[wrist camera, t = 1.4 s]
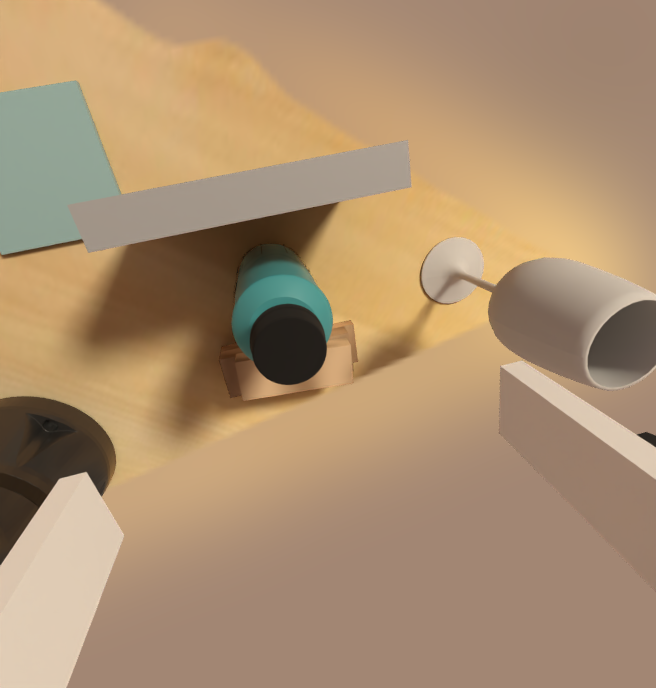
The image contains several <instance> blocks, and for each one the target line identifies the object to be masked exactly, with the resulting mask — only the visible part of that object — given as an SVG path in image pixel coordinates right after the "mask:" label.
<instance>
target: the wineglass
mask: <svg viewBox="0 0 656 688" xmlns="http://www.w3.org/2000/svg"><path fill="white" fill-rule="evenodd" d="M483 269H484V261H483V255H482V253H481V250H480V249H479V247H478V246H477V245H476V244H475V243H474V242H472V241H471V240H469V239H466V238H462V237H453V238H448V239H446V240H444V241H442V242H440V243H438V244H437V245H436V246H435V247H433V248H432V250H431V251H430V252H429V253H428V254H427V256H426V258H425V260H424V262H423V266H422V270H421V281H422V286H423V288H424V290H425V292H426V293H427V294H428V295H429V297H430V298H432V299H434V300H435V301H437V302H441V303H454V302H458V301H460V300H462V299H464V298H466V297H467V296H468V295H470V294H471V293H472V292H473V291H474V289H475V288H476V287H477V286H479V287H481V288H483V289H485V290H488V291H490V292H492V295H491V298H490V301H489V308H488V315H489V322H490V324H491V326H492V329H493V331H494V333H495V335H496V337H497V338H498V339H499V340H500V342H501V343H502V344H503V345H504V346H506V347H507V348H508V349H509V350H511V351H512V352H514V353H515V354H517V355H518V356H520V357H522V358H523V359H525V360H527V361H529V362H531V363H533V364H535V365H537V366H540V367H542V368H544V369H546V370H549V371H551V372H553V373H556V374H558V375H560V376H563V377H566V378H569V379H571V380H574V381H576V382H579V383H582V384H585V385H588V386H591V387H595V388H598V389H602V390H607V391H614V390H620V389H624V388H627V387H630V386H632V385H634V384H636V383H638V382H640V381H641V380H642V379H644V378H645V377H647V376H648V375H649V374H650V373H651V372H652V371H653V370H654V369H656V294H654V293H652V292H650V291H648V290H646V289H644V288H642V287H640V286H638V285H636V284H634V283H632V282H630V281H628V280H625V279H623V278H621V277H618V276H616V275H613V274H611V273H608V272H606V271H603V270H600V269H598V268H595V267H592V266H590V265H587V264H584V263H581V262H578V261H574V260H569V259H562V258H540V259H536V260H532V261H528V262H525V263H522V264H520V265H518V266H516V267H514V268H513V269H512V270H510V271H509V272H508V273H507V274H505V276H504V277H503V278H502V279H501V280H500V281H499V282H498V284H497V285H495V284H492V283H490V282H487V281H485V280H482V279H481V277H482V274H483Z"/></svg>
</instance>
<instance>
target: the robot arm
mask: <svg viewBox="0 0 656 688" xmlns="http://www.w3.org/2000/svg"><path fill="white" fill-rule="evenodd" d="M500 369H501V370H500V408H499V410H500V411H499V434H500V435H501V436H502V437H503V438H504V439H505V440H506V441H507V442H508V443H509V444H510V445H511V446H512V447H513V448H514V449H515V450H516V451H517V452H518V453H519V454H520V455H521V456H522V457H523V458H524V459H525V460H526V461H527V462H528V463H529V464H530V465H531V466H532V467H533V468H534V469H535V470H536V471H537V472H538V473H539V474H540V475H541V476H542V477H543V478H544V479H545V480H546V481H547V482H548V483H549V484H550V485H551V486H552V487H553V488H554V489H555V490H556V491H557V492H558V493H559V494H560V495H561V496H562V497H563V499H564V500H565V501H566V502H567V503H568V504H570V505H571V507H573V508H574V510H575V511H576V512H577V513H578V514H579V515H580V516H581V517H582V518H583V519H584V520H585V521H586V522H587V523H588V524H589V525H590V526H591V527H592V528H593V529H594V530H595V531H596V532H597V533H598V534H599V535H600V536H601V537H602V538H603V539H604V540H605V541H606V542H607V543H608V544H609V545H610V546H611V547H612V548H613V549H614V550H615V551H616V552H617V553H618V554H619V555H620V556H621V557H622V558H623V559H624V560H625V561H626V562H627V563H628V564H629V565H630V566H631V567H632V568H633V569H634V570H635V571H636V572H637V573H638V574H639V575H640V576H641V577H642V578H643V579H644V580H645V581H646V582H647V583H648V584H649V585H650V586H651V588H652V589H654V591H655V592H656V436H655V435H653V434H650V433H647V432H645V433H641V434H637V435H636V434H634V433H633V432H631V431H629V430H628V429H626V428H625V427H623V426H622V425H620V424H619V423H617V422H616V421H614V420H613V419H611V418H610V417H608V416H607V415H605V414H603V413H602V412H600V411H599V410H597V409H596V408H594V407H593V406H591V405H590V404H588V403H586V402H585V401H583V400H582V399H580V398H579V397H577V396H576V395H574V394H573V393H571V392H569V391H568V390H567V389H565V388H563V387H562V386H560V385H559V384H557V383H556V382H554V381H552V380H551V379H550V378H548V377H547V376H545V375H543V374H542V373H540V372H539V371H537V370H536V369H534V368H533V367H531V366H530V365H528V364H526V363H525V362H523V361H519V362H515V363H511V364H507V365H503V366H501V368H500ZM115 466H116V455H115V450H114V447H113V444H112V442H111V440H110V438H109V436H108V435H107V433H106V432H105V431H104V430H103V428H102V427H101V426H100V425H99V424H98V423H97V422H96V421H95V420H93V419H92V418H91V417H89V416H88V415H86V414H85V413H83V412H82V411H80V410H78V409H76V408H74V407H72V406H70V405H67V404H64V403H61V402H58V401H55V400H51V399H46V398H40V397H10V398H4V399H0V688H66V687H67V685H68V682H69V679H70V677H71V674H72V672H73V669H74V666H75V663H76V661H77V658H78V656H79V653H80V651H81V648H82V645H83V643H84V640H85V637H86V634H87V632H88V629H89V627H90V624H91V622H92V619H93V616H94V614H95V611H96V609H97V606H98V603H99V601H100V598H101V595H102V593H103V590H104V588H105V585H106V582H107V580H108V577H109V575H110V572H111V569H112V567H113V564H114V561H115V558H116V556H117V554H118V551H119V548H120V546H121V543H122V540H123V538H124V534H123V532H122V531H121V529H120V528H119V526H118V524H117V522H116V521H115V519H114V518H113V516H112V514H111V512H110V511H109V509H108V507H107V506H106V504H105V502H104V501H103V499H102V495H103V494H104V492H105V490H106V488H107V486H108V484H109V482H110V480H111V478H112V476H113V474H114V471H115Z"/></svg>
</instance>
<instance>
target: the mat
mask: <svg viewBox="0 0 656 688" xmlns="http://www.w3.org/2000/svg"><path fill="white" fill-rule="evenodd" d="M117 195H121V192H120V189H119V187H118V184H117V182H116V179H115V176H114V174H113V171H112V169H111V166H110V163H109V161H108V158H107V156H106V153H105V150H104V148H103V145H102V143H101V140H100V137H99V135H98V132H97V129H96V127H95V124H94V122H93V119H92V116H91V114H90V111H89V109H88V106H87V103H86V101H85V98H84V96H83V93H82V90H81V88H80V85H79V83H78V82H77V81H70V82H64V83H57V84H51V85H45V86H39V87H32V88H26V89H20V90H14V91H7V92H1V93H0V253H1V254H2V255H4V254H9V253H14V252H19V251H24V250H29V249H34V248H39V247H44V246H49V245H54V244H59V243H64V242H69V241H74V240H79V239H82V237H81V235H80V233H79V231H78V229H77V226H76V224H75V222H74V220H73V217H72V215H71V213H70V211H69V208H68V206H67V205H69V204H75V203H80V202H85V201H90V200H96V199H101V198H106V197H111V196H117Z"/></svg>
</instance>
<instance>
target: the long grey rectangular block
mask: <svg viewBox="0 0 656 688" xmlns="http://www.w3.org/2000/svg"><path fill="white" fill-rule="evenodd" d="M410 187H411V174H410V161H409V148H408V140H406V141H401V142H396V143H390V144H385V145H380V146H374V147H369V148H364V149H358V150H353V151H348V152H343V153H337V154H332V155H327V156H322V157H316V158H311V159H306V160H301V161H295V162H290V163H285V164H280V165H274V166H269V167H264V168H259V169H253V170H248V171H243V172H238V173H232V174H227V175H222V176H217V177H211V178H206V179H201V180H196V181H190V182H185V183H180V184H175V185H169V186H164V187H159V188H153V189H148V190H143V191H138V192H132V193H127V194H122V195H117V196H111V197H106V198H101V199H96V200H90V201H85V202H80V203H75V204H69V205H67V206H68V208H69V211H70V213H71V215H72V217H73V220H74V222H75V224H76V226H77V229H78V231H79V233H80V235H81V237H82V240H83V242H84V244H85V246H86V249H87V251H88V253H90V252H95V251H99V250H104V249H109V248H114V247H119V246H124V245H129V244H134V243H139V242H144V241H149V240H154V239H159V238H163V237H168V236H173V235H178V234H183V233H188V232H193V231H198V230H203V229H208V228H213V227H218V226H223V225H227V224H232V223H237V222H242V221H247V220H252V219H257V218H262V217H267V216H272V215H277V214H282V213H287V212H292V211H296V210H301V209H306V208H311V207H316V206H321V205H326V204H331V203H336V202H341V201H346V200H351V199H356V198H360V197H365V196H370V195H375V194H380V193H385V192H390V191H395V190H400V189H405V188H410Z"/></svg>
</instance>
